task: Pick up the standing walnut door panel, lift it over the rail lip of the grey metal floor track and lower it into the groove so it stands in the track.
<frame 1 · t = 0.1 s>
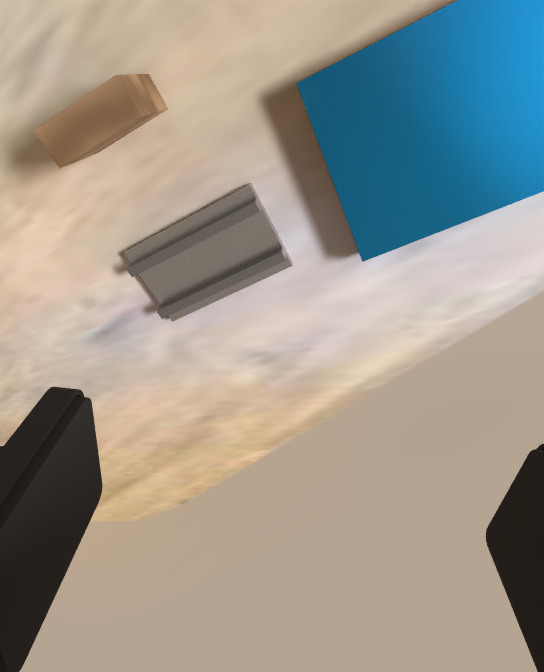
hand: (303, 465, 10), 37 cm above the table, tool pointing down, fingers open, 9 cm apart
door panel: (122, 114, 40), on the table
floor track: (209, 256, 47), on the table
book: (462, 115, 39), on the table
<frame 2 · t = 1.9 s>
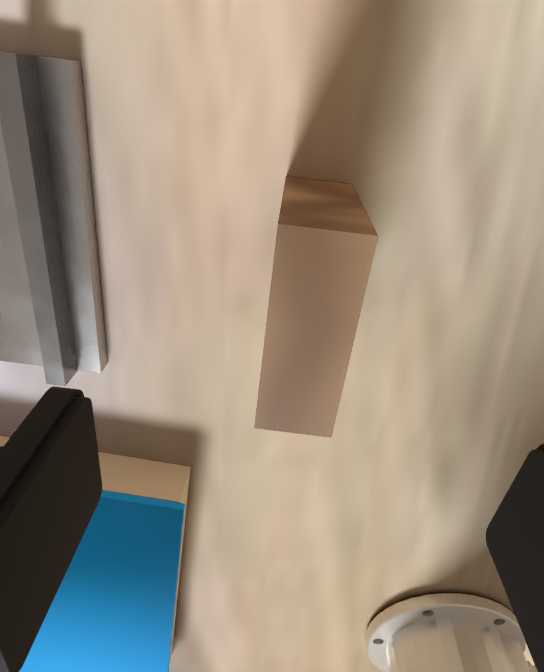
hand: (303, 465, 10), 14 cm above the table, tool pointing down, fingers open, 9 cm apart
door panel: (306, 263, 22), on the table
floor track: (6, 226, 22), on the table
book: (82, 552, 36), on the table
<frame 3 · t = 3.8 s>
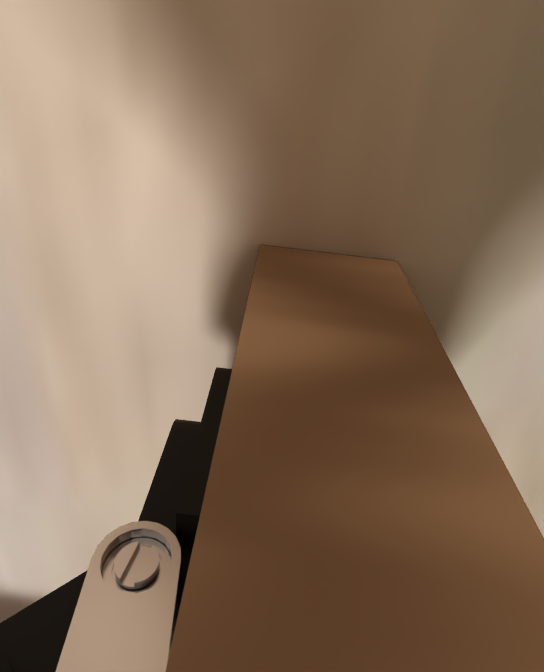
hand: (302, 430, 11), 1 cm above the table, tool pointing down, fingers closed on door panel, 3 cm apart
door panel: (302, 397, 12), on the table, touching gripper
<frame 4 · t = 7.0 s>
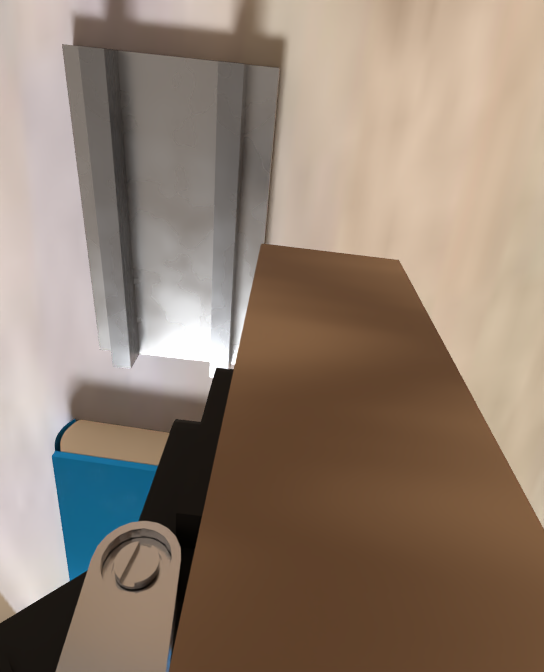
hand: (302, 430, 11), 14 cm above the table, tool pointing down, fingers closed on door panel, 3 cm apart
door panel: (303, 396, 12), point 13 cm above the table, touching gripper
floor track: (178, 227, 23), on the table
book: (185, 538, 37), on the table
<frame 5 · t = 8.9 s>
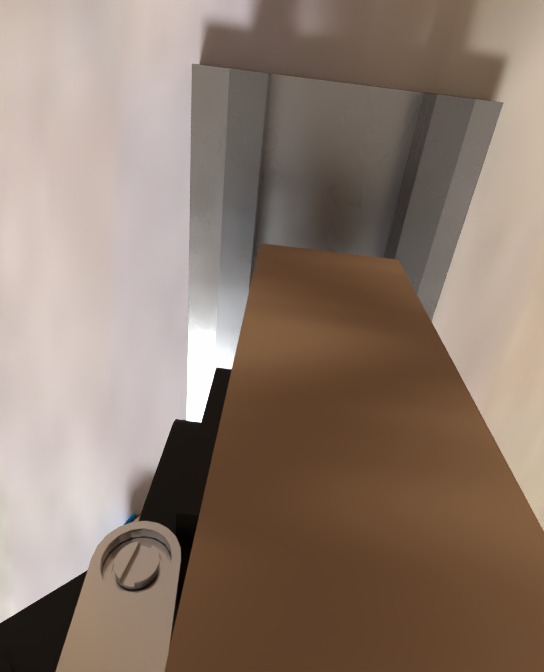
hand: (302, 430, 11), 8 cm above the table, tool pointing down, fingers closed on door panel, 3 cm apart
door panel: (302, 396, 12), point 6 cm above the table, touching gripper
floor track: (308, 302, 17), on the table
when the fingers open (3 cm above the table, at t = 10.5 s): door panel stays where it is, resting on floor track.
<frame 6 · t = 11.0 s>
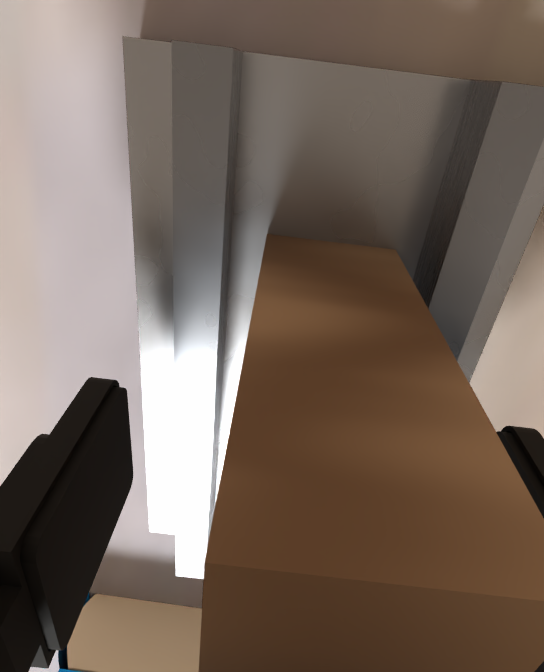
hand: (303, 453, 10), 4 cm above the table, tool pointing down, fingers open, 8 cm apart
door panel: (305, 380, 12), point 1 cm above the table, touching floor track
floor track: (301, 360, 13), on the table
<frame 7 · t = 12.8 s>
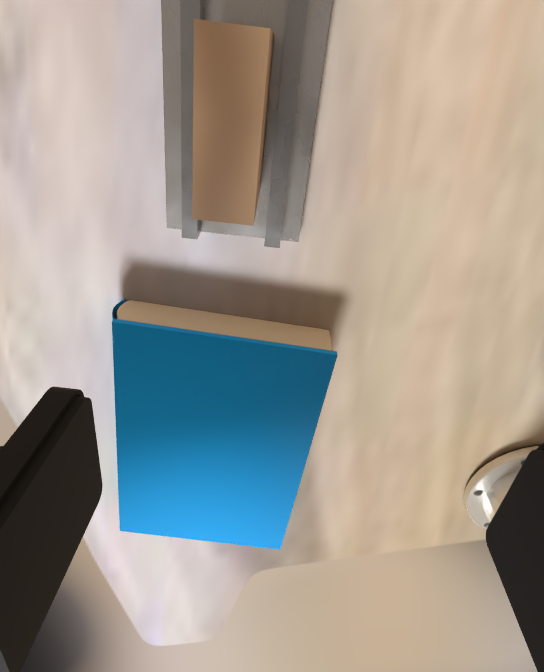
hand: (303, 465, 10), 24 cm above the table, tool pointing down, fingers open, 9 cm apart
door panel: (241, 113, 26), point 1 cm above the table, touching floor track
floor track: (241, 111, 27), on the table
book: (215, 423, 42), on the table
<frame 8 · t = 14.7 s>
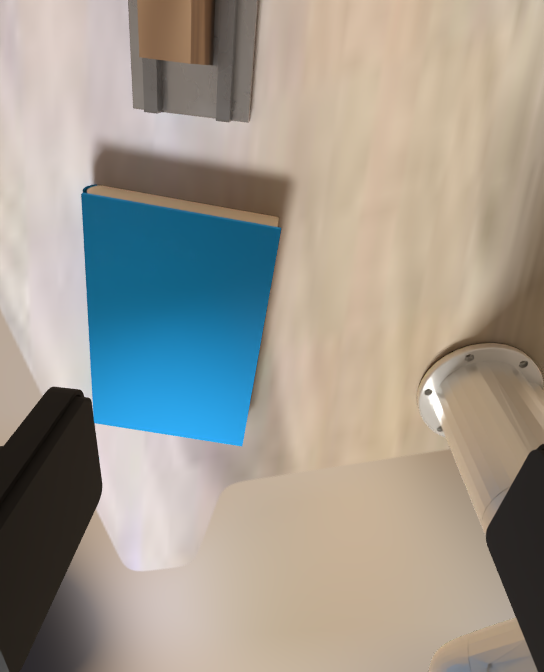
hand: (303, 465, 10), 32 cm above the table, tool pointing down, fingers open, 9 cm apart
book: (181, 318, 46), on the table
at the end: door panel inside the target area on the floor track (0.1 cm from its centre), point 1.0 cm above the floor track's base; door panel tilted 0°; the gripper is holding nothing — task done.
